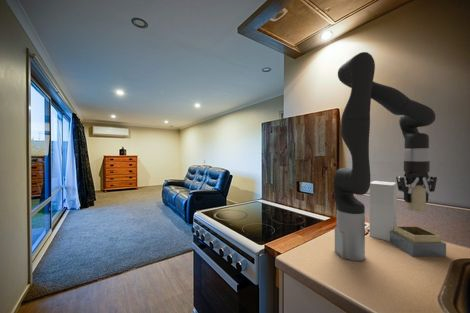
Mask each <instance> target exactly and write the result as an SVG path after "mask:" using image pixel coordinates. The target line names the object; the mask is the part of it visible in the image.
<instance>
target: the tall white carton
mask: <svg viewBox="0 0 470 313" xmlns="http://www.w3.org/2000/svg"><path fill="white" fill-rule="evenodd" d="M368 208H369V212H368V213H369V215H368V216H369V237H371V238H374V239H375V238H376V239H378V240H384V241H387V242H390V231H394V226H398V185H397V182H392V181H382V180H381V181H380V180H373V181H370V187H369V207H368Z"/></svg>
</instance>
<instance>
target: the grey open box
mask: <svg viewBox="0 0 470 313" xmlns="http://www.w3.org/2000/svg"><path fill="white" fill-rule="evenodd" d="M389 243H390V244H391V245H393V246H395V247H396V248H397V249H399V250H401V251H403V252H405V253H406V254H408V255H409V256H411V257H413V258H414V257H416V258H425V257H426V258H428V257H429V258H431V257H432V258H433V257H434V258H438V257H439V258H442V257H443V258H445V257H447V243H446V242H444V241H442V236H441V235H440V234H438V233H436V232H435V233H434V232H432V231H430V230H427V229H425V228H423V227H420V226H418V225H397V226H394V231H390V241H389Z"/></svg>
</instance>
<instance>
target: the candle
mask: <svg viewBox="0 0 470 313" xmlns="http://www.w3.org/2000/svg"><path fill="white" fill-rule="evenodd" d="M410 194H411V203H408V202H406V209H408V210H409V211H413V212H421V213H423V212H426V211H427V206H426V204H427V203H426V189H425V188H424V187H422V186H419V185H417V186H415V188H414V189H412V192H411V193H410Z"/></svg>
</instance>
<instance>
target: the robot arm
mask: <svg viewBox="0 0 470 313" xmlns="http://www.w3.org/2000/svg"><path fill="white" fill-rule="evenodd" d="M375 71H376V62H375V59H374V57H373V55H372V54H371V53H369V52H366V51H363V52H359V53H357V54H355V55H354V56H352V57H351V58H349V59H348V60H347V61H345V62H344V63H343V64H342V65H341V66H340V67H339V68H338V71H337V77H338V80H339V81H340V83H341V84H343V85H345V86H346V87H348V88H351V90H350V94H349V98H348V100H347V103H346V104H345V107H344V109H343V112H342V115H341V118H340V119H341V120H340V135H341V136H340V137H341V138H342V141H343V142H344V144H345V146H346V147H347V149H348V151H349V152H350V153H349V154H350V156H351V165H352V166H351V168H347V167H345V168H344V167H342V168H338V169H337V170H336V171H335V172H334V176H333V183H332V184H333V198H334V203H335V205H336V226H335V227H334V251H335V253H337V254H338V255H339V257H340V258H341V259H344V260H345V259H346V260H348V261H353V262H361V261H364V260H365V257H366V237H365V236H366V222H365V221H366V220H365V219H366V216H365V215H366V211H365V210H366V208H365V207H366V206H365V204H364V203H363V202H361V201H360V200H359V199H358V198H356V197H355V195H358V196H362V195H363V196H364V195H366V194H367V193H368V191H370V183H371V166H370V132H371V131H370V130H371V128H370V127H371V104H372V103H371V102H372V100H373V101H375V102H377V104H380V105H381V106H382V107H383V108H384V109H386V110H387V111H388V112H390V113H391V114H392V115H394V116H400V117H399V124H398V125H399V127H400V130H401V132H402V137H403V138H404V149H403V150H404V151H403V172H404V175H402V176H398V175H397V176H396V178H395V179H396V180H395V181H396V183H397V191H399V192H402V193H403V201H404V202H405V203H407V202H408V203H411V194H410V193H411V192H412V189H414V188H415V186H417V185H419V186H422V187H424V188H425V189H426V204H427V203H428V201H429V196H430V193H431V192H432V193H434V192H435V191H436V190H435V189H436V185H437V181H438V177H437V176H434V175H433V176H432V175H429V172H430V171H431V170H430V169H431V165H430V163H431V161H430V160H431V159H430V158H431V154H430V136H429V135H428V134H427V133H424V132H420V131H419V129H418V128H422V127H427V126H430V125H432V124H433V123H434V122H435V121H436V113H435V110H433V109H432V108H431V107H429V106H427V105H425V104H423V103H421V102H418V101H417V100H413V99H411V98H410V97H408V96H407V95H406V94H404V92H402V91H400V90H399V89H397V88H395V87H392V86H389V85H385V84H383V83H378V82H376V81H374V76H375Z"/></svg>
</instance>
